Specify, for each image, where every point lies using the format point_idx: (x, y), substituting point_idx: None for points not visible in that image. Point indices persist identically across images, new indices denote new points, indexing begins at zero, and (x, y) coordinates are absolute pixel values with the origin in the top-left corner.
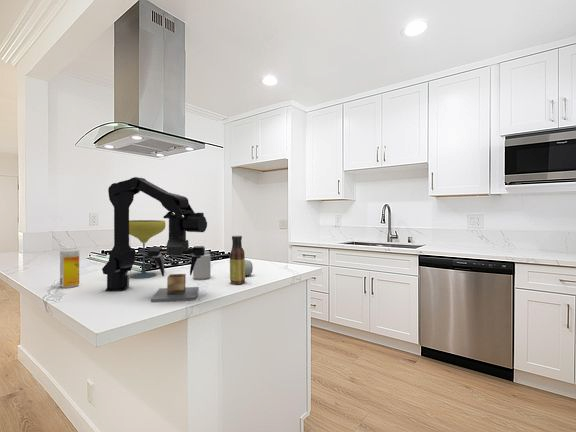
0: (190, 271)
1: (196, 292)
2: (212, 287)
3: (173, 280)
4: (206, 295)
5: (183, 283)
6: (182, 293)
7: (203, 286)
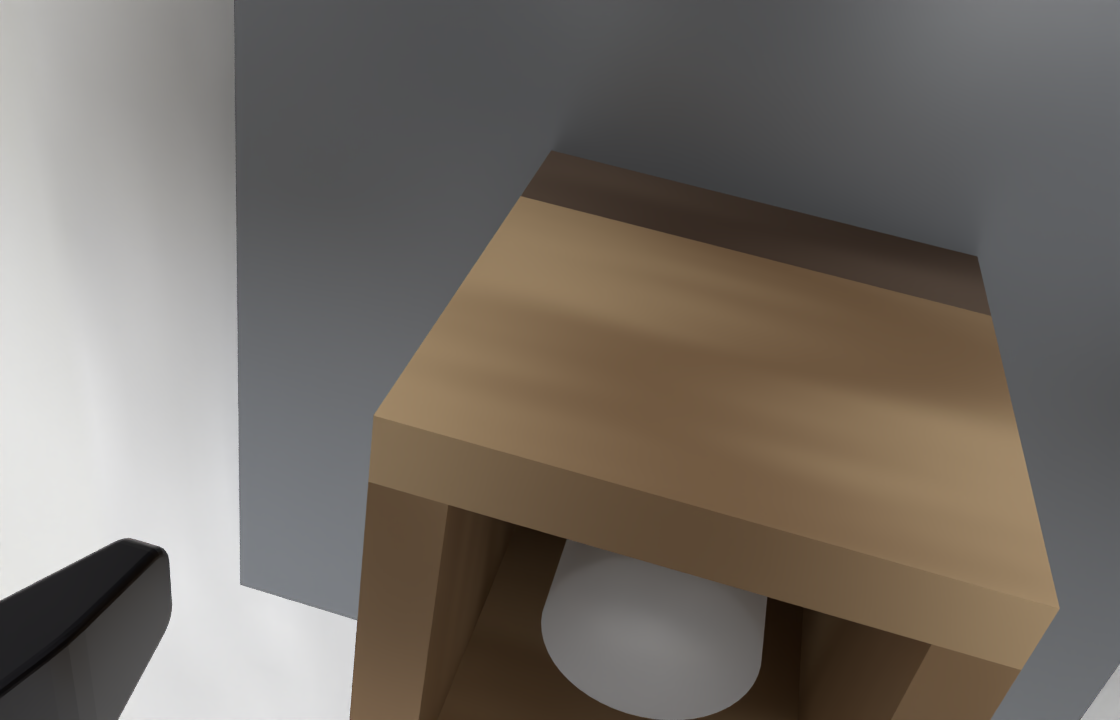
0: (49, 635)
1: (248, 183)
2: (40, 563)
3: (798, 452)
4: (63, 59)
5: (471, 288)
6: (577, 166)
7: (199, 680)
